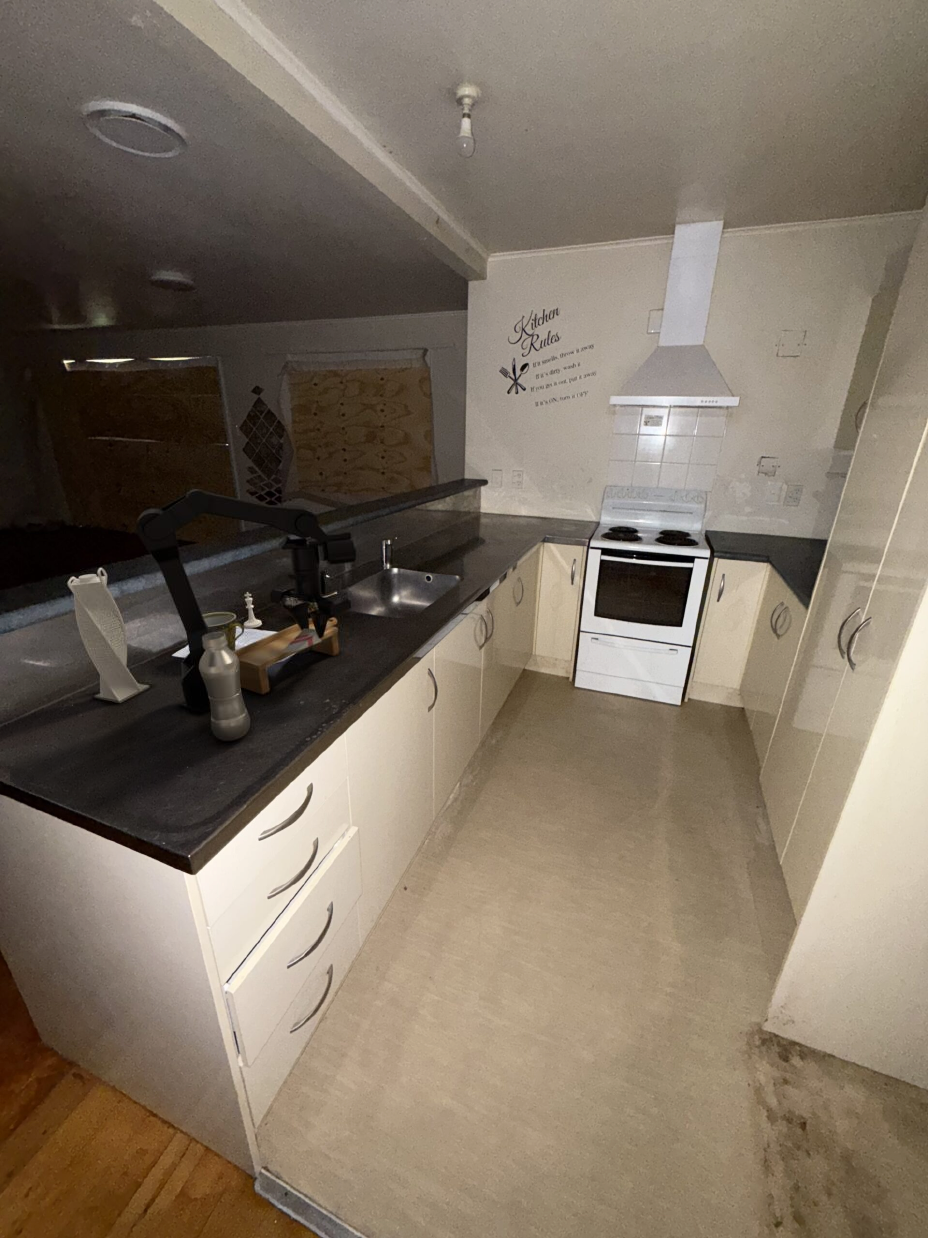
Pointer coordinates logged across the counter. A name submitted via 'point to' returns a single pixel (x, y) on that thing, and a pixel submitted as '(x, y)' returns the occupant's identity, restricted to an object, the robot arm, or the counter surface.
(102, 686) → the skyscraper
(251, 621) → the chess piece
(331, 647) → the shelf
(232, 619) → the ceramic cup
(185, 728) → the counter surface
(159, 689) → the counter surface
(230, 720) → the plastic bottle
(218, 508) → the robot arm
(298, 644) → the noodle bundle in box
